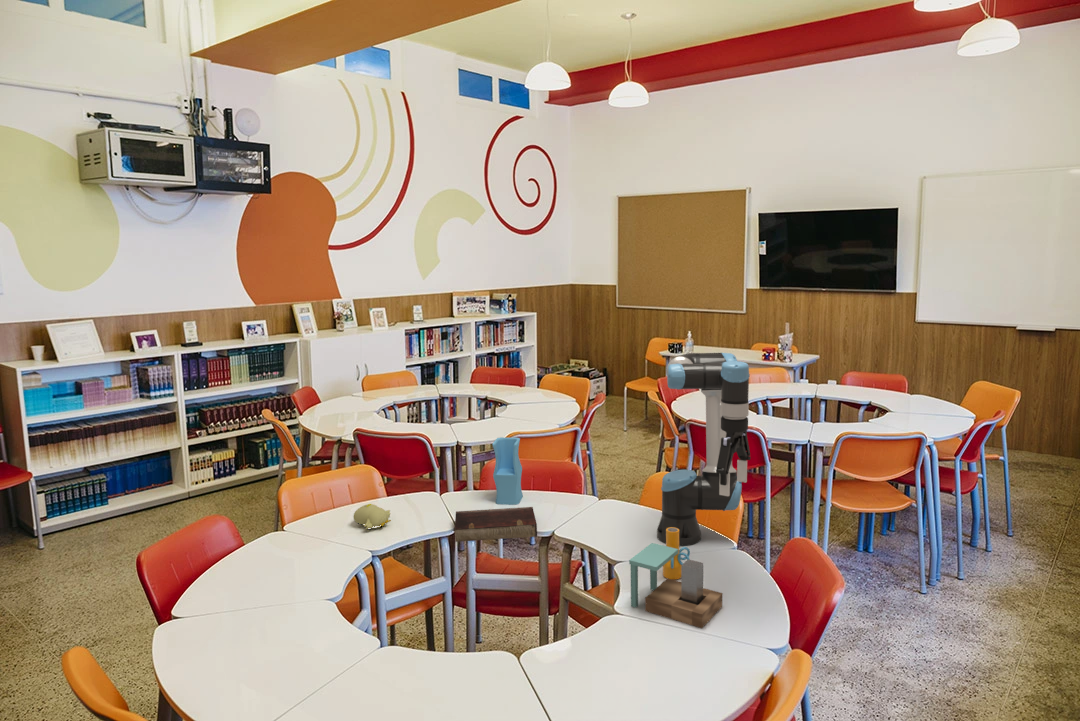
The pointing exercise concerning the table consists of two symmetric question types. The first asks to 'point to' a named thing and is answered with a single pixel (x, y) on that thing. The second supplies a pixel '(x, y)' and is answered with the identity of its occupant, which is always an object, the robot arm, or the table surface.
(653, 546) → the teal miniature table
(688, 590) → the peg
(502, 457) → the blue high-backed chair
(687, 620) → the socket block
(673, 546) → the cylinder
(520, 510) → the hardback book
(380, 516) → the toy
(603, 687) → the table surface
